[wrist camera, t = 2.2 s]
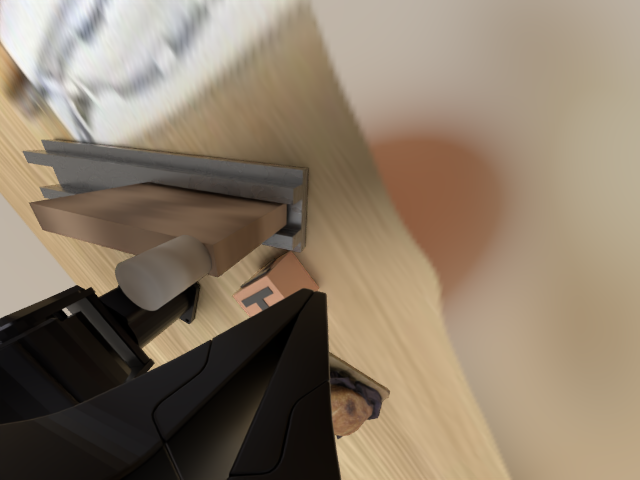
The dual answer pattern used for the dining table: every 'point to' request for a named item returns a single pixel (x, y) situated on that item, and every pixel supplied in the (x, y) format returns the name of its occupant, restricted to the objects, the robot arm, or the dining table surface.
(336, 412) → the bread roll
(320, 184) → the dining table surface
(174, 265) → the screen
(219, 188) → the track
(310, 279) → the lettered cube
